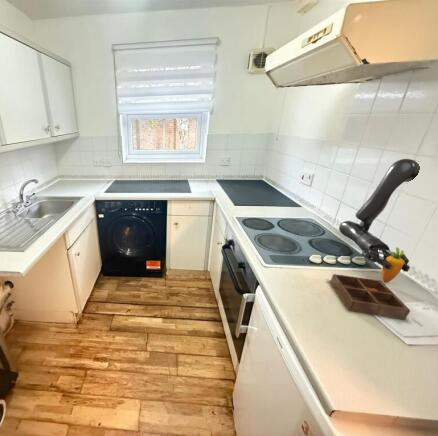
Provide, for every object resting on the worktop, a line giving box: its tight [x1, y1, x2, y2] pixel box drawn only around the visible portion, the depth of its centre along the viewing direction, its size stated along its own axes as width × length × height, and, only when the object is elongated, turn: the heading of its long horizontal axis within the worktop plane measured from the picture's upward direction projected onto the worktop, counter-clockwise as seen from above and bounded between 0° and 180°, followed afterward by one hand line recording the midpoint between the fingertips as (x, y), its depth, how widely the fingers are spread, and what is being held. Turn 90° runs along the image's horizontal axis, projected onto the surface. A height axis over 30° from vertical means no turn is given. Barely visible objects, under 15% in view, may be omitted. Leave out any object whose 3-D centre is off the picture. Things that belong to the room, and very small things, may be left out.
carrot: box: [381, 246, 405, 284], centre depth 89 cm, size 5×5×15 cm
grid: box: [329, 273, 411, 321], centre depth 84 cm, size 15×15×4 cm
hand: (398, 268), depth 86 cm, fingers closed on carrot, 4 cm apart
